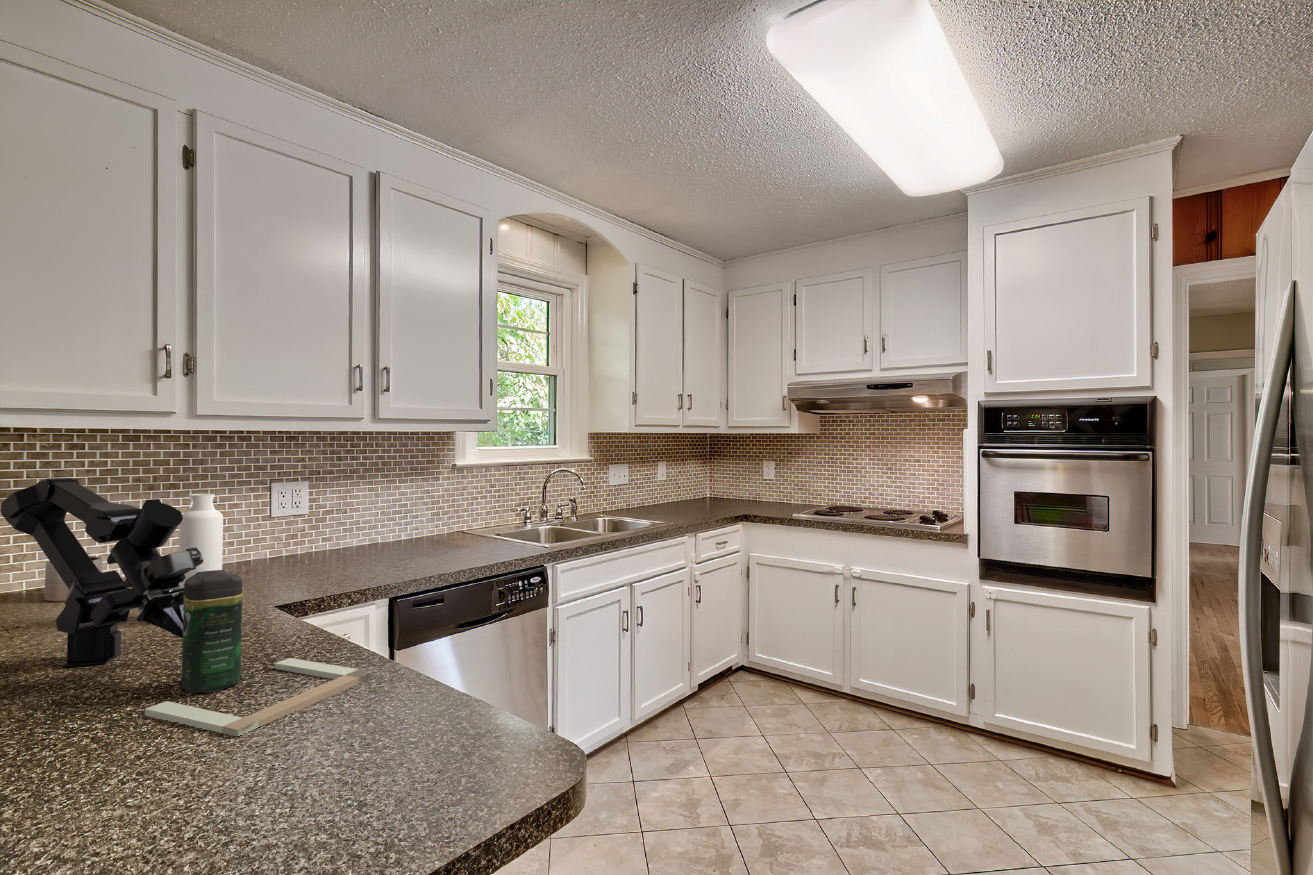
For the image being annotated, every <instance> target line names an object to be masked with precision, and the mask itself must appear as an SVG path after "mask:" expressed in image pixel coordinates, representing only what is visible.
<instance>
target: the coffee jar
mask: <svg viewBox="0 0 1313 875" xmlns="http://www.w3.org/2000/svg"><path fill="white" fill-rule="evenodd" d="M243 594H244V592H243V580H242V578H241V577H239V576H238V575H236V574H234V573H232V572H228V571H226V570H224V569H222V570H213V571H203V572H197V573H196V574H195V575H193V576H191V577H189V578H188V579H187V580H186V581H185V584H184V616H183V638H182V657H181V659H182V660H181V685H182V687H183V689H184V690H185V691H186V692H187V693H190V694H195V693H207V694H208V693H214V692H215V693H216V692H219V691H222V690H224V689H226V688H229V687H232V686H235V685H237V684H238V683H239V682H240V681H241V672H242V671H241V670H242V629H243Z"/></svg>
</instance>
